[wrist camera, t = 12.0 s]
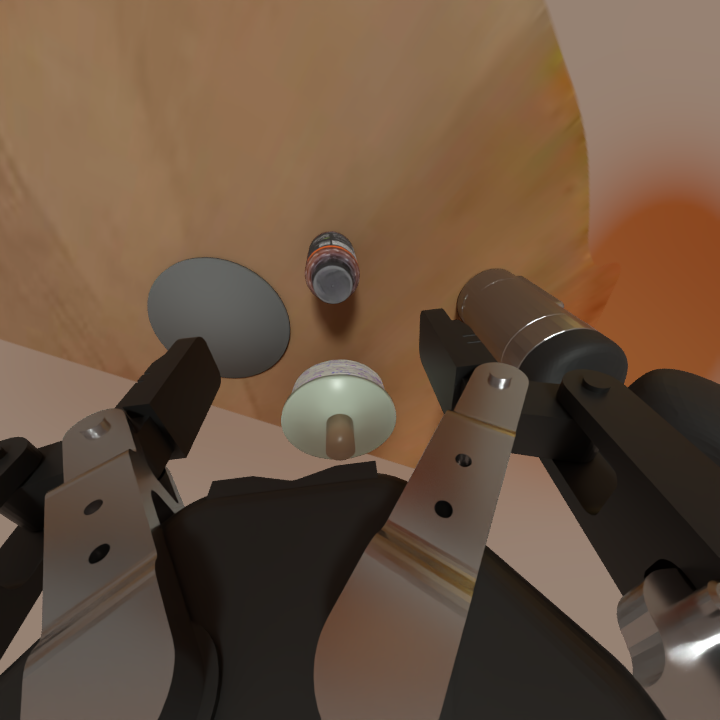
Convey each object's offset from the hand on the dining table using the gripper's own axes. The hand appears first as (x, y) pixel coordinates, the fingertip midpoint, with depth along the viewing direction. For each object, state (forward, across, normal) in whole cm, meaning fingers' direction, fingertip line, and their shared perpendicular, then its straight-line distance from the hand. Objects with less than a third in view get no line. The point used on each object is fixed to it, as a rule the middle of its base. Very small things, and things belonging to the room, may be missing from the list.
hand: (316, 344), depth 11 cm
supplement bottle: (+30, 0, +5) cm, 31 cm away
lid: (+22, +2, +27) cm, 35 cm away
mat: (+30, +17, +13) cm, 37 cm away
